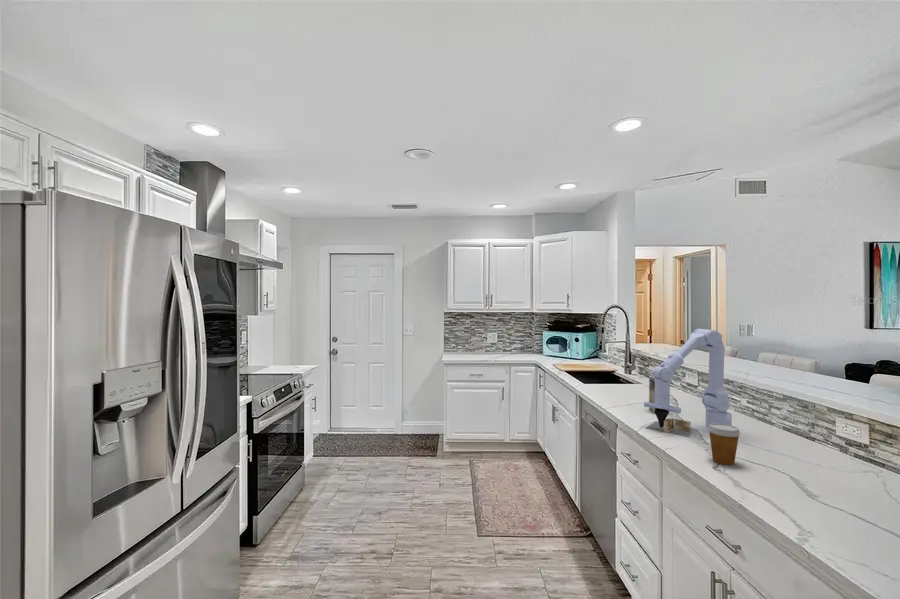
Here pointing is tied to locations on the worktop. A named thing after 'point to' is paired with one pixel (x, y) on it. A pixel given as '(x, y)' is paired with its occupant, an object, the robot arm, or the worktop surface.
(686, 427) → the block
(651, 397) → the coffee box
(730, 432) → the disposable coffee cup
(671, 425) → the hinged panel
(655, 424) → the card
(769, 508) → the worktop surface
